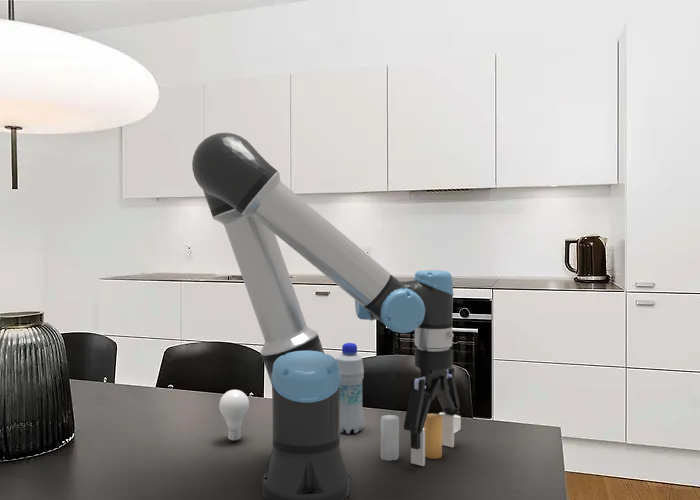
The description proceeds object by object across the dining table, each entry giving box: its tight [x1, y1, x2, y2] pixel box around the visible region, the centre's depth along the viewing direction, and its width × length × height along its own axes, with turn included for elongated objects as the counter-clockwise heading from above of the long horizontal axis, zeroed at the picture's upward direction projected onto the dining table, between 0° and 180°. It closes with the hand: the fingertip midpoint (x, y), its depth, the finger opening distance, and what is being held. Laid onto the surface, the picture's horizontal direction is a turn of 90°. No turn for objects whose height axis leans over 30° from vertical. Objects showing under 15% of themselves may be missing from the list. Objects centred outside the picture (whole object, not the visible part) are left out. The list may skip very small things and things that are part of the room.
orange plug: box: [423, 412, 443, 460], centre depth 122 cm, size 4×4×8 cm
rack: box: [422, 411, 462, 434], centre depth 134 cm, size 13×5×3 cm, turn 143°
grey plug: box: [380, 414, 400, 462], centre depth 121 cm, size 4×4×8 cm
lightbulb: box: [218, 389, 250, 442], centre depth 130 cm, size 6×6×11 cm
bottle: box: [335, 342, 365, 435], centre depth 137 cm, size 7×7×20 cm
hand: (433, 454), depth 122 cm, fingers open, 12 cm apart
